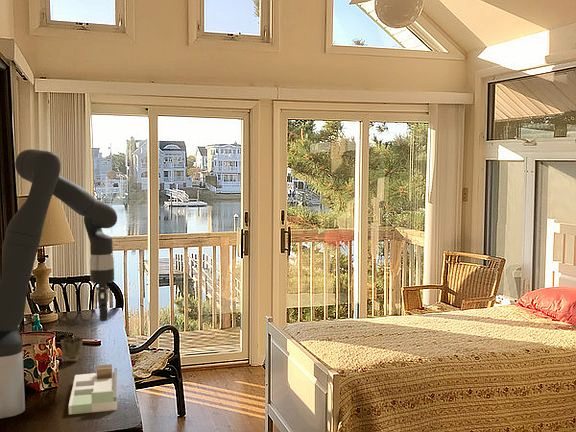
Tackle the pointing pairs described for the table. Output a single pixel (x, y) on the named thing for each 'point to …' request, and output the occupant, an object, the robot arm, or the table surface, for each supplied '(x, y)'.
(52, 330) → the table surface
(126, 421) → the table surface
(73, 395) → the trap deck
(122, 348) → the table surface
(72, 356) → the cup
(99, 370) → the walnut block
